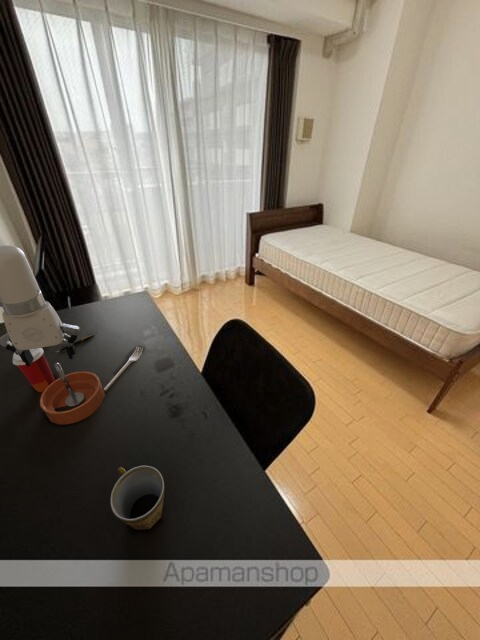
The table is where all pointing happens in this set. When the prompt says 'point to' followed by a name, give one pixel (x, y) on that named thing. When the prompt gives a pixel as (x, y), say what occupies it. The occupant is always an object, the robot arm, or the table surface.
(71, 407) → the grey disc on stem
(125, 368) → the fork
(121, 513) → the ceramic cup
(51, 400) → the bowl
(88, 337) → the fountain pen
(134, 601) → the table surface
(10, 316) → the robot arm
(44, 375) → the paper cup
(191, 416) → the table surface
